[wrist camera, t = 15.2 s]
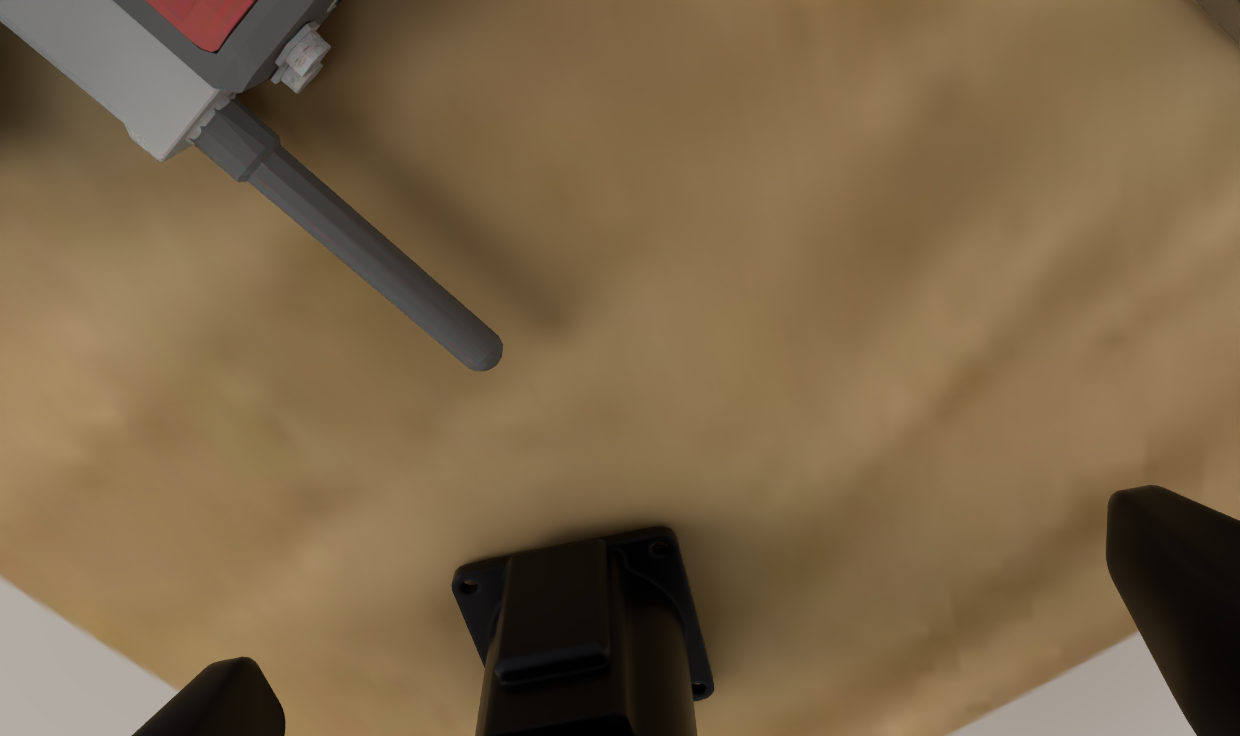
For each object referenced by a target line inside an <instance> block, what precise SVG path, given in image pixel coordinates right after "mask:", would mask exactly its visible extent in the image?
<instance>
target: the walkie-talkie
mask: <svg viewBox="0 0 1240 736" xmlns="http://www.w3.org/2000/svg"><path fill="white" fill-rule="evenodd" d="M340 1H341V0H0V21H1V22H2V23H3V24H4V25H5V26H7V27H8V28H9V29H10V30H12V31H13V32H14V33H15V34H16V35H18V36H19V37H20V38H21V39H22V40H24V41H25V42H26V43H27V44H28V45H30V46H31V47H32V48H33V49H35V50H36V51H37V52H38V53H39V54H41V55H42V56H43V57H44V58H45V59H47V60H48V61H49V62H50V63H51V64H53V65H54V66H55V67H56V68H57V69H59V70H60V71H61V72H62V73H64V74H65V75H66V76H67V77H68V78H70V79H71V80H72V81H73V82H74V83H76V84H77V85H78V86H79V87H80V88H82V89H83V90H84V91H85V92H87V93H88V94H89V95H90V96H91V97H93V98H94V99H95V100H96V101H97V102H99V103H100V104H101V105H102V106H103V107H105V108H106V109H107V110H108V111H109V112H111V113H112V114H113V115H114V116H116V117H117V118H118V119H119V120H120V121H122V122H123V123H124V124H125V126H126V129H127V131H128V133H129V135H130V138H131V139H132V140H134V141H135V142H136V143H137V144H139V145H140V146H141V147H142V148H144V149H145V150H146V151H147V152H149V153H150V154H151V155H152V156H153V157H155V158H156V159H157V160H158V161H160V162H164V161H166V160H168V159H169V158H171V157H173V156H174V155H176V154H178V153H180V152H181V151H183V150H185V149H186V148H188V147H190V146H191V145H195V146H196V147H198V148H199V149H200V150H201V151H202V152H203V153H205V154H206V155H207V156H208V157H209V158H210V159H212V160H213V161H214V162H215V163H216V164H217V165H219V166H220V167H221V168H222V169H223V170H224V171H226V172H227V173H228V174H229V175H230V176H231V177H233V178H234V179H235V180H236V181H237V182H245V181H248V182H249V183H250V184H252V185H253V186H254V187H255V188H256V189H258V190H259V191H260V192H261V193H262V194H263V195H265V196H266V197H267V198H268V199H269V200H271V201H272V202H273V203H274V204H275V205H276V206H278V207H279V208H280V209H281V210H282V211H284V212H285V213H286V214H287V215H288V216H290V217H291V218H292V219H293V220H294V221H295V222H297V223H298V224H299V225H300V226H301V227H303V228H304V229H305V230H306V231H307V232H308V233H310V234H311V235H312V236H313V237H314V238H316V239H317V240H318V241H319V242H320V243H321V244H323V245H324V246H325V247H326V248H327V249H329V250H330V251H331V252H332V253H333V254H334V255H336V256H337V257H338V258H339V259H340V260H342V261H343V262H344V263H345V264H346V265H347V266H349V267H350V268H351V269H352V270H353V271H355V272H356V273H357V274H358V275H359V276H360V277H362V278H363V279H364V280H365V281H366V282H368V283H369V284H370V285H371V286H372V287H373V288H375V289H376V290H377V291H378V292H379V293H381V294H382V295H383V296H384V297H385V298H386V299H388V300H389V301H390V302H391V303H392V304H394V305H395V306H396V307H397V308H398V309H399V310H401V311H402V312H403V313H404V314H405V315H407V316H408V317H409V318H410V319H411V320H412V321H414V322H415V323H416V324H417V325H418V326H420V327H421V328H422V329H423V330H424V331H425V332H427V333H428V334H429V335H430V336H431V337H433V338H434V339H435V340H436V341H437V342H439V343H440V344H441V345H442V346H443V347H444V348H446V349H447V350H448V351H449V352H450V353H452V354H453V355H454V356H455V357H456V358H457V359H459V360H460V361H461V362H462V363H463V364H465V365H466V366H467V367H468V368H469V369H472V370H474V371H487V370H490V369H491V368H493V367H494V366H496V365H497V364H498V362H499V361H500V359H501V357H502V350H503V344H502V342H501V340H500V338H499V336H498V335H497V334H496V333H495V332H493V331H492V330H491V329H490V328H489V327H488V326H487V325H485V324H484V323H483V322H482V321H481V320H480V319H479V318H477V317H476V316H475V315H474V314H473V313H472V312H471V311H469V310H468V309H467V308H466V307H465V306H464V305H463V304H461V303H460V302H459V301H458V300H457V299H456V298H455V297H453V296H452V295H451V294H450V293H449V292H448V291H447V290H445V289H444V288H443V287H442V286H441V285H440V284H439V283H437V282H436V281H435V280H434V279H433V278H432V277H431V276H429V275H428V274H427V273H426V272H425V271H424V270H423V269H421V268H420V267H419V266H418V265H417V264H416V263H415V262H413V261H412V260H411V259H410V258H409V257H408V256H407V255H405V254H404V253H403V252H402V251H401V250H400V249H399V248H397V247H396V246H395V245H394V244H393V243H392V242H390V241H389V240H388V239H387V238H386V237H385V236H384V235H382V234H381V233H380V232H379V231H378V230H377V229H376V228H374V227H373V226H372V225H371V224H370V223H369V222H368V221H366V220H365V219H364V218H363V217H362V216H361V215H360V214H358V213H357V212H356V211H355V210H354V209H353V208H352V207H350V206H349V205H348V204H347V203H346V202H345V201H344V200H342V199H341V198H340V197H339V196H338V195H337V194H336V193H334V192H333V191H332V190H331V189H330V188H329V187H328V186H326V185H325V184H324V183H323V182H322V181H321V180H320V179H318V178H317V177H316V176H315V175H314V174H313V173H312V172H310V171H309V170H308V169H307V168H306V167H305V166H304V165H302V164H301V163H300V162H299V161H298V160H297V159H296V158H294V157H293V156H292V155H291V154H290V153H289V152H288V151H286V150H285V149H284V148H283V147H282V146H281V145H280V138H279V135H278V134H276V133H275V132H274V131H273V130H272V129H271V128H270V127H268V126H267V125H266V124H265V123H264V122H263V121H262V120H260V119H259V118H258V117H257V116H256V115H255V114H254V113H253V112H251V111H250V110H249V109H248V108H247V107H246V106H245V105H243V104H242V103H241V102H240V101H239V100H238V99H237V98H236V96H235V95H236V94H237V93H243V92H245V91H246V90H248V89H250V88H252V87H254V86H256V85H258V84H260V83H262V82H263V81H265V80H267V79H269V78H271V77H273V78H272V79H271V81H272V82H273V83H274V84H277V83H279V82H281V81H282V82H283V83H285V84H286V85H287V86H288V87H290V88H291V89H292V90H293V91H294V92H295V93H296V94H298V93H300V92H301V91H302V90H303V89H304V88H305V87H306V86H307V85H308V84H309V83H310V82H311V81H312V80H313V79H314V78H315V76H316V75H317V74H318V73H319V71H320V70H321V68H322V66H323V65H322V64H321V63H320V61H321V60H322V59H323V57H324V56H325V55H326V54H327V52H328V51H329V49H330V47H331V46H330V45H329V44H328V43H327V42H326V40H324V39H323V38H322V37H321V36H320V35H319V34H318V33H317V32H316V30H317V29H318V28H319V27H320V25H321V24H322V23H323V22H324V21H325V19H326V18H327V17H328V16H329V15H330V13H331V12H332V11H333V10H334V9H335V7H336V6H337V5H338V4H339V3H340Z"/></svg>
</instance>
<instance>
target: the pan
mask: <svg viewBox="0 0 1240 736" xmlns="http://www.w3.org/2000/svg"><path fill="white" fill-rule="evenodd" d="M1195 1H1196V2H1197V3H1198V4H1199V5H1200V6H1201V7H1202V8H1203V9H1204V10H1205V11H1206V12H1207V13H1208V14H1209V15H1210V16H1211V17H1212V18H1213V19H1214V20H1215V21H1216V22H1217V23H1218V24H1219V25H1220V26H1221V27H1222V28H1223V29H1224V30H1225V31H1226V32H1227V33H1228V34H1229V35H1230V36H1231V37H1232V38H1233V39H1234V40H1235V41H1236V42H1237V43H1238V44H1239V45H1240V0H1195Z"/></svg>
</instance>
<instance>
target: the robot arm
mask: <svg viewBox="0 0 1240 736" xmlns="http://www.w3.org/2000/svg"><path fill="white" fill-rule="evenodd" d="M658 542H664V543H666V544H667V545H666V546H664V547H662V548H657V547H655V546H653V545H654V544H656V543H658ZM1106 561H1107V566H1108V570H1109V573H1110V575H1111V578H1112V580H1113V582H1114V584H1115V586H1116V588H1117V590H1118V592H1119V594H1120V595H1121V597H1122V599H1123V601H1124V603H1125V605H1126V607H1127V609H1128V611H1129V613H1130V614H1131V616H1132V618H1133V620H1134V622H1135V624H1136V626H1137V628H1138V630H1139V632H1140V633H1141V635H1142V637H1143V639H1144V641H1145V643H1146V645H1147V647H1148V649H1149V650H1150V652H1151V654H1152V656H1153V658H1154V660H1155V662H1156V664H1157V666H1158V668H1159V670H1160V671H1161V673H1162V675H1163V677H1164V679H1165V681H1166V683H1167V685H1168V687H1169V688H1170V690H1171V692H1172V694H1173V696H1174V698H1175V700H1176V701H1177V703H1178V705H1179V707H1180V709H1181V710H1182V712H1183V714H1184V715H1185V717H1186V719H1187V720H1188V722H1189V724H1190V725H1191V727H1192V728H1193V730H1194V732H1195V733H1196V735H1197V736H1240V521H1239V520H1237V519H1234V518H1232V517H1230V516H1228V515H1225V514H1223V513H1221V512H1218V511H1216V510H1214V509H1211V508H1209V507H1207V506H1205V505H1202V504H1200V503H1198V502H1195V501H1193V500H1191V499H1188V498H1186V497H1184V496H1181V495H1179V494H1177V493H1175V492H1172V491H1170V490H1168V489H1165V488H1163V487H1160V486H1156V485H1147V486H1141V487H1136V488H1131V489H1125V490H1120V491H1117V492H1115V493H1113V494H1112V495H1111V497H1110V499H1109V502H1108V512H1107V538H1106ZM465 581H473V582H476V583H477V584H475V585H469V584H466V583H465ZM452 591H453V593H454V596H455V598H456V601H457V603H458V605H459V608H460V610H461V612H462V615H463V617H464V620H465V622H466V624H467V627H468V629H469V632H470V634H471V636H472V639H473V641H474V644H475V646H476V648H477V651H478V653H479V655H480V658H481V660H482V663H483V665H484V667H485V673H484V679H483V686H482V693H481V699H480V706H479V713H478V720H477V726H476V733H475V736H697V728H696V720H695V712H694V703H693V701H699V700H703V699H706V698H708V697H709V696H710V695H712V693H713V691H714V681H713V675H712V671H711V667H710V663H709V659H708V655H707V652H706V648H705V644H704V640H703V636H702V632H701V628H700V624H699V620H698V616H697V613H696V609H695V605H694V601H693V597H692V593H691V589H690V585H689V581H688V577H687V574H686V570H685V566H684V562H683V558H682V554H681V550H680V546H679V542H678V538H677V536H676V534H675V532H674V531H673V530H671V529H670V528H667V527H664V526H656V527H651V528H646V529H641V530H636V531H631V532H626V533H621V534H616V535H611V536H606V537H601V538H596V539H589V540H584V541H579V542H574V543H569V544H564V545H560V546H555V547H550V548H545V549H540V550H535V551H530V552H525V553H520V554H515V555H511V556H506V557H501V558H496V559H491V560H486V561H482V562H477V563H472V564H467V565H464V566H461V567H459V568H458V569H457V570H456V571H455V574H454V577H453V581H452ZM694 683H701V684H694ZM284 735H285V715H284V712H283V708H282V706H281V704H280V702H279V700H278V699H277V697H276V695H275V693H274V692H273V690H272V688H271V687H270V685H269V683H268V681H267V680H266V678H265V676H264V674H263V673H262V671H261V669H260V668H259V666H258V664H257V663H256V662H255V661H254V660H253V659H251V658H249V657H239V658H234V659H229V660H223V661H218V662H215V663H212V664H210V665H209V666H207V667H206V668H205V669H204V670H203V671H202V672H201V673H200V674H198V675H197V676H196V677H195V678H194V679H193V680H192V681H191V682H190V683H189V684H188V685H186V686H185V687H184V688H183V689H182V690H181V691H180V692H179V693H178V694H177V695H176V696H174V697H173V698H172V699H171V700H170V701H169V702H168V703H167V704H166V705H165V706H164V707H163V708H161V709H160V710H159V711H158V712H157V713H156V714H155V715H154V716H153V717H152V718H150V719H149V720H148V721H147V722H146V723H145V724H144V725H143V726H142V727H141V728H140V729H138V730H137V731H136V732H135V733H134V734H133V735H132V736H284Z"/></svg>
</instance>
